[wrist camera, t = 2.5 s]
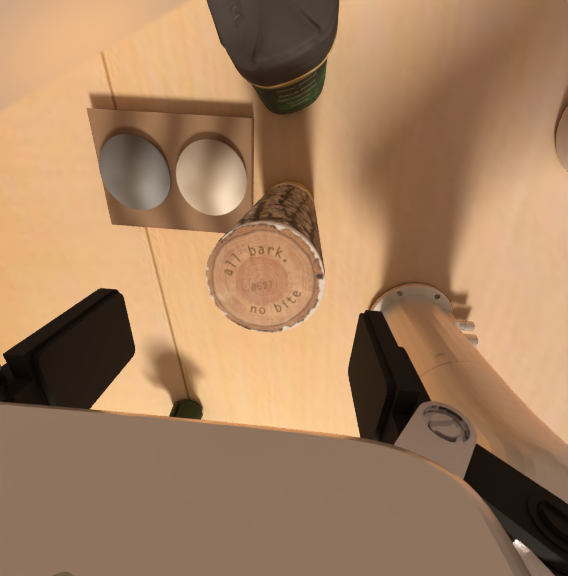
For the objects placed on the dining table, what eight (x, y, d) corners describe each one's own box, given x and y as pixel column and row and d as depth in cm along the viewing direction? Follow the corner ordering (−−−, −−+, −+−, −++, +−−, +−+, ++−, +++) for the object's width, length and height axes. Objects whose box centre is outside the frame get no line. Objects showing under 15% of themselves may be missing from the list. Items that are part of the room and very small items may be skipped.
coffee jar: (332, 98, 32) (359, 40, 16) (268, 123, 34) (232, 96, 17) (308, -9, 29) (310, -233, 12) (238, 26, 30) (153, -129, 14)
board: (253, 119, 34) (250, 117, 32) (253, 232, 40) (250, 236, 38) (95, 109, 35) (81, 107, 33) (118, 221, 41) (108, 225, 39)
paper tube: (259, 185, 37) (188, 234, 15) (310, 175, 36) (316, 211, 14) (270, 234, 40) (224, 338, 18) (317, 226, 39) (332, 325, 17)
